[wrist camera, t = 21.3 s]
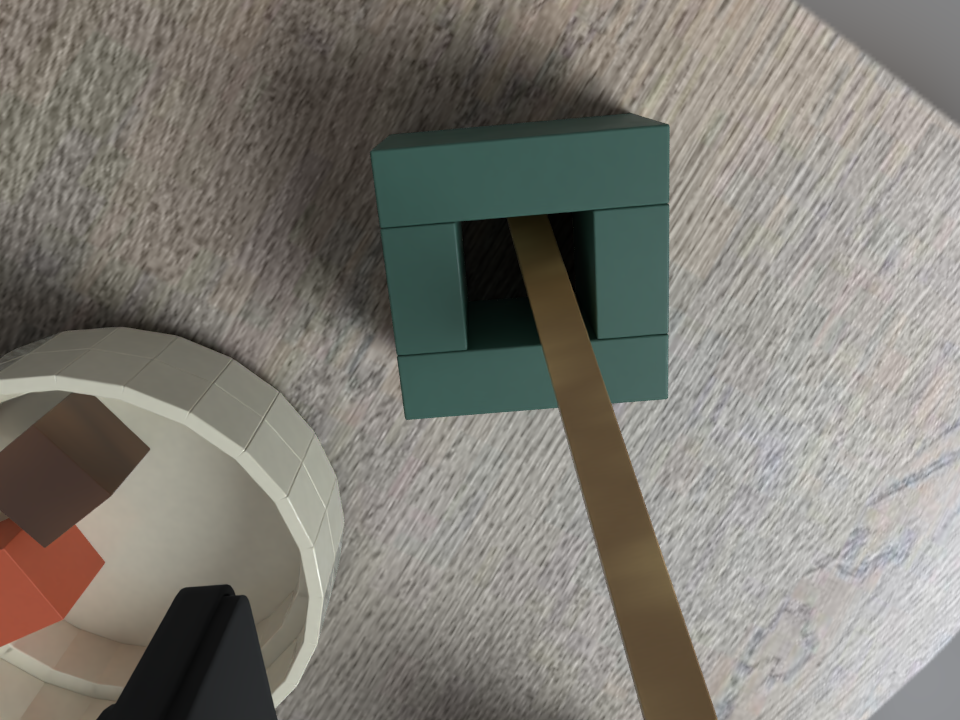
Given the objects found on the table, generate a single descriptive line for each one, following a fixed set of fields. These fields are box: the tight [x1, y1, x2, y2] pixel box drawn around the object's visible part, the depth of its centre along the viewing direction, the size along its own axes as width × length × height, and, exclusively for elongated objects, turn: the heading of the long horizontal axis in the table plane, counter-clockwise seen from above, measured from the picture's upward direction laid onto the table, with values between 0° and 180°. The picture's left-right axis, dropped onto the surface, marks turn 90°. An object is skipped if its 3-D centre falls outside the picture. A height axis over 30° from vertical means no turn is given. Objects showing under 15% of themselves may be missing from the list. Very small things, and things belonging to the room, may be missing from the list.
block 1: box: [0, 392, 150, 548], centre depth 32 cm, size 4×4×4 cm
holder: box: [370, 113, 669, 420], centre depth 29 cm, size 10×10×6 cm
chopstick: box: [507, 214, 718, 720], centre depth 24 cm, size 2×2×20 cm
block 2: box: [0, 518, 105, 647], centre depth 34 cm, size 4×4×4 cm
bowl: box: [0, 327, 345, 720], centre depth 33 cm, size 18×18×6 cm
